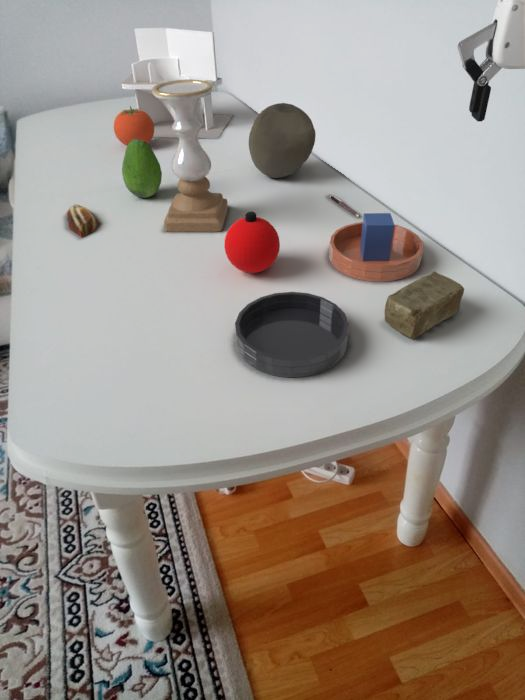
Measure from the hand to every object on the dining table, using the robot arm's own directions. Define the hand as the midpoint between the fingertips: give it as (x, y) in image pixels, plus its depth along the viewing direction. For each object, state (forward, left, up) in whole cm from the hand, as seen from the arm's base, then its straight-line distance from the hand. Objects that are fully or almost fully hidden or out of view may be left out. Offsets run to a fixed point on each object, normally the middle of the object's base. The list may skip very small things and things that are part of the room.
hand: (516, 117), depth 65 cm
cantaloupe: (+54, -12, -25) cm, 61 cm away
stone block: (+1, +12, -25) cm, 28 cm away
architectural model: (+103, -18, -25) cm, 108 cm away
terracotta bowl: (+16, +3, -25) cm, 30 cm away
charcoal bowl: (+10, +29, -25) cm, 40 cm away
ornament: (+28, +20, -25) cm, 43 cm away
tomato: (+96, 0, -25) cm, 100 cm away
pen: (+33, -9, -26) cm, 43 cm away
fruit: (+67, +16, -25) cm, 74 cm away
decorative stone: (+67, +32, -25) cm, 78 cm away
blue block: (+16, +3, -25) cm, 30 cm away
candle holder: (+50, +15, -25) cm, 58 cm away
